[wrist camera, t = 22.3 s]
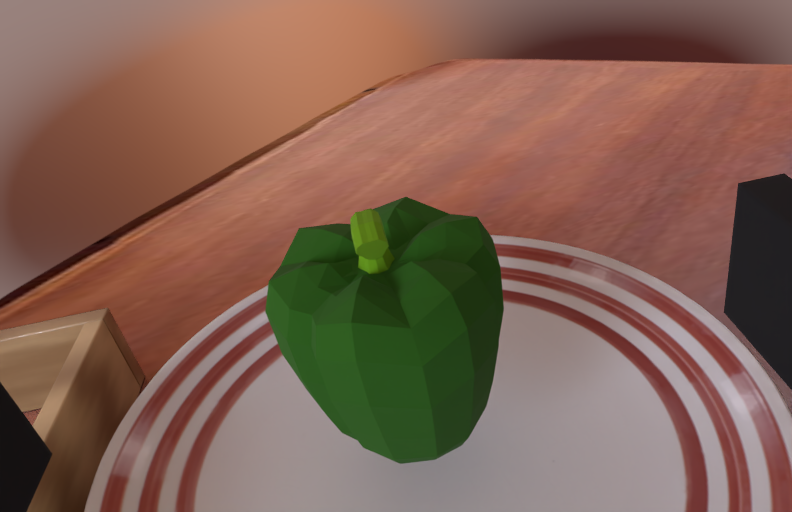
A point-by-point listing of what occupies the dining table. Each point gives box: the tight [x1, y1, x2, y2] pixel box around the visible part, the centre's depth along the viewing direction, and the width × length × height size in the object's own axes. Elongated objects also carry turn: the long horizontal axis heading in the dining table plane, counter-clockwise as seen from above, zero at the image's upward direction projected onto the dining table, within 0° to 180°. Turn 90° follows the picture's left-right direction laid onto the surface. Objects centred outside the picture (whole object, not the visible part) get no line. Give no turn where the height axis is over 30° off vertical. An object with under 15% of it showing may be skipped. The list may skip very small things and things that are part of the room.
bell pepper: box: [265, 197, 504, 464], centre depth 23 cm, size 8×8×10 cm
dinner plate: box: [84, 235, 792, 512], centre depth 27 cm, size 27×27×3 cm
